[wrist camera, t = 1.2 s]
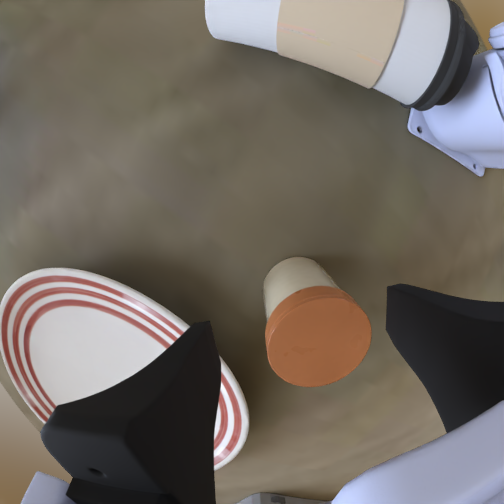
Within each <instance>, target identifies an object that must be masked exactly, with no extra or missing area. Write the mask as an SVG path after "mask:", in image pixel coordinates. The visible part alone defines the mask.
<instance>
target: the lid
mask: <svg viewBox="0 0 504 504" xmlns="http://www.w3.org/2000/svg"><path fill="white" fill-rule="evenodd" d="M371 333H372V332H371V325H370V322H369V319H368V317H367V315H366V314H365V313H364V311H363V310H362V309H361V307H360V306H359V305H358V304H357V303H356V301H355V300H354V299H353V298H352V297H351V296H350V295H349V294H347V293H346V292H344V291H342V290H340V289H338V288H335V287H330V286H312V287H307V288H304V289H301V290H299V291H296V292H294V293H293V294H291V295H289V296H288V297H286V298H285V299H284V300H283V301H282V302H281V303H279V304H278V306H277V307H276V308H275V309H274V311H273V312H272V314H271V315H270V317H269V320H268V322H267V326H266V331H265V339H266V347H267V355H268V360H269V363H270V365H271V367H272V369H273V370H274V371H275V373H276V374H277V375H278V376H279V377H280V378H282V379H283V380H285V381H287V382H289V383H291V384H294V385H298V386H303V387H317V386H323V385H327V384H330V383H333V382H335V381H338V380H340V379H342V378H343V377H345V376H346V375H348V374H349V373H351V372H352V371H353V370H354V369H355V368H356V367H357V366H358V365H359V364H360V363H361V361H362V360H363V359H364V357H365V355H366V353H367V351H368V349H369V346H370V342H371Z"/></svg>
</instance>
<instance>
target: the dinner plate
mask: <svg viewBox="0 0 504 504" xmlns="http://www.w3.org/2000/svg"><path fill="white" fill-rule="evenodd" d="M189 327H190V326H189V325H187V324H186V323H185V322H184V321H183V320H181V319H180V318H179V317H177V316H176V315H175V314H173V313H172V312H170V311H169V310H168V309H166V308H165V307H164V306H162V305H160V304H159V303H157V302H155V301H154V300H152V299H150V298H149V297H147V296H145V295H144V294H142V293H140V292H138V291H136V290H134V289H132V288H130V287H128V286H126V285H124V284H122V283H119V282H117V281H115V280H112V279H110V278H107V277H104V276H101V275H98V274H95V273H91V272H87V271H83V270H77V269H71V268H46V269H41V270H37V271H33V272H31V273H28V274H26V275H24V276H23V277H21V278H19V279H18V280H17V281H16V282H14V283H13V284H12V286H11V287H10V288H9V289H8V291H7V292H6V294H5V296H4V298H3V300H2V302H1V305H0V350H1V354H2V357H3V361H4V364H5V366H6V369H7V371H8V373H9V375H10V378H11V380H12V382H13V383H14V385H15V387H16V389H17V390H18V392H19V393H20V395H21V396H22V398H23V399H24V401H25V402H26V403H27V405H28V406H29V407H30V408H31V410H32V411H33V412H34V413H35V414H36V415H37V417H38V418H39V419H40V420H41V421H42V422H43V423H44V424H45V423H46V422H47V420H48V419H49V417H50V415H51V414H52V412H53V411H54V409H55V408H56V406H57V405H60V404H65V403H68V402H72V401H75V400H79V399H82V398H85V397H88V396H91V395H94V394H96V393H99V392H101V391H103V390H106V389H108V388H110V387H112V386H114V385H116V384H118V383H120V382H121V381H123V380H125V379H127V378H129V377H131V376H132V375H134V374H135V373H137V372H138V371H140V370H141V369H143V368H144V367H146V366H147V365H148V364H150V363H151V362H152V361H153V360H155V359H156V358H157V357H158V356H159V355H160V354H162V353H163V352H164V351H165V350H166V349H167V348H169V347H170V346H171V345H172V344H173V343H174V342H175V341H176V340H177V339H178V338H179V337H180V336H181V335H182V334H183V333H184V332H185V331H186V330H187V329H188V328H189ZM219 357H220V356H219ZM220 360H221V389H220V396H219V403H218V410H217V416H216V423H215V432H214V471H215V470H217V469H219V468H221V467H223V466H224V465H226V464H227V463H229V462H230V461H231V460H232V459H233V458H234V457H235V456H236V455H237V454H238V453H239V452H240V450H241V449H242V447H243V446H244V444H245V441H246V439H247V435H248V431H249V412H248V407H247V403H246V400H245V397H244V394H243V392H242V390H241V388H240V386H239V384H238V382H237V380H236V378H235V377H234V375H233V373H232V372H231V370H230V369H229V367H228V366H227V365H226V363H225V362H224V361H223V359H222V358H221V357H220Z"/></svg>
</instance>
